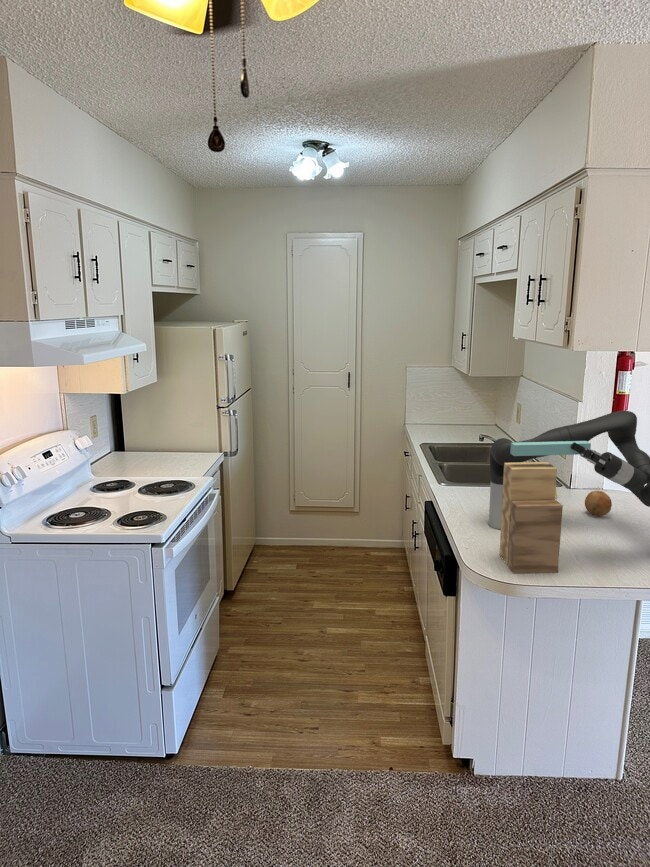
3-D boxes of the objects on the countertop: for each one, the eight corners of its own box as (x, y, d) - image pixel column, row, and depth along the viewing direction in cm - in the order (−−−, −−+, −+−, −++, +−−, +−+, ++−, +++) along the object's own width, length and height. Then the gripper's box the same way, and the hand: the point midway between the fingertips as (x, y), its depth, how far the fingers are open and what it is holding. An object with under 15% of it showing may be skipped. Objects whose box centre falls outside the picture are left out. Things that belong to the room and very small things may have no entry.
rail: (510, 453, 190) (510, 442, 189) (585, 451, 190) (585, 440, 189) (514, 456, 186) (514, 445, 185) (590, 454, 187) (590, 443, 186)
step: (508, 566, 191) (511, 501, 186) (551, 565, 191) (556, 500, 186) (513, 573, 186) (517, 506, 181) (557, 572, 186) (562, 505, 181)
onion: (611, 513, 238) (613, 489, 235) (610, 520, 229) (612, 496, 227) (584, 509, 242) (586, 485, 240) (582, 517, 233) (584, 492, 231)
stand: (499, 555, 199) (504, 462, 193) (540, 554, 200) (547, 461, 193) (507, 565, 192) (512, 469, 185) (550, 564, 192) (557, 468, 185)
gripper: (609, 453, 196) (566, 428, 194) (632, 464, 182) (586, 438, 180) (597, 472, 197) (553, 448, 195) (618, 485, 183) (572, 459, 181)
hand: (569, 443), depth 187 cm, fingers closed on rail, 3 cm apart
